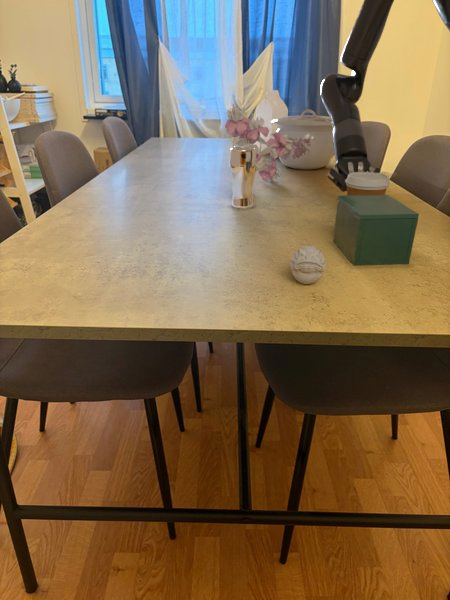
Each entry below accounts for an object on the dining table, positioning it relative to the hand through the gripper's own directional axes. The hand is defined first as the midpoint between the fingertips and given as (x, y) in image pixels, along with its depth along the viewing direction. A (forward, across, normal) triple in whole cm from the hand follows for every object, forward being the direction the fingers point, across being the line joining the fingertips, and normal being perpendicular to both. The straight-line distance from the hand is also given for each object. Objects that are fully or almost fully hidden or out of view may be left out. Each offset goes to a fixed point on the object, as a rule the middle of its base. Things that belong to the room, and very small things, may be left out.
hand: (358, 205), depth 102 cm
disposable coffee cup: (+6, 0, 0) cm, 6 cm away
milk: (-78, -3, +86) cm, 117 cm away
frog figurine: (+27, -20, -21) cm, 39 cm away
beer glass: (-9, -26, +16) cm, 32 cm away
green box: (+17, -4, -11) cm, 20 cm away
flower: (-29, -18, +36) cm, 49 cm away
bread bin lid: (+10, -4, -17) cm, 20 cm away
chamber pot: (-48, +4, +56) cm, 74 cm away
